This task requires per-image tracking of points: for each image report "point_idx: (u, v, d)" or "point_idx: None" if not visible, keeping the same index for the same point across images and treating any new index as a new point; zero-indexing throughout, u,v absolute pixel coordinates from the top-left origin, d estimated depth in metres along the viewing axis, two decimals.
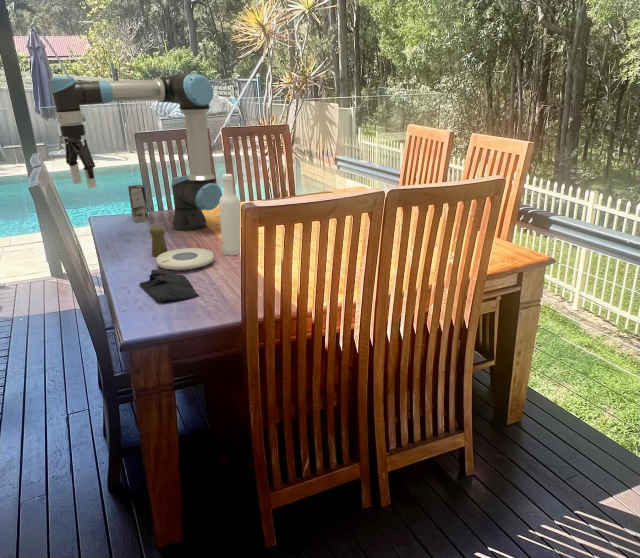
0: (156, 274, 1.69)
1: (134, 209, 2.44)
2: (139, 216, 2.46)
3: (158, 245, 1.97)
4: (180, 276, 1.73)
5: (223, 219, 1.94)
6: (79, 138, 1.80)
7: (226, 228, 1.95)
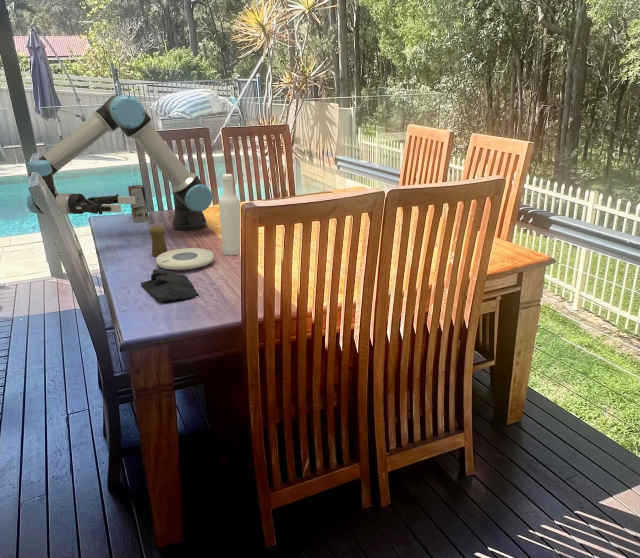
0: (157, 274, 1.69)
1: (134, 209, 2.44)
2: (139, 216, 2.46)
3: (158, 245, 1.97)
4: (181, 276, 1.73)
5: (223, 219, 1.94)
6: None
7: (226, 228, 1.95)
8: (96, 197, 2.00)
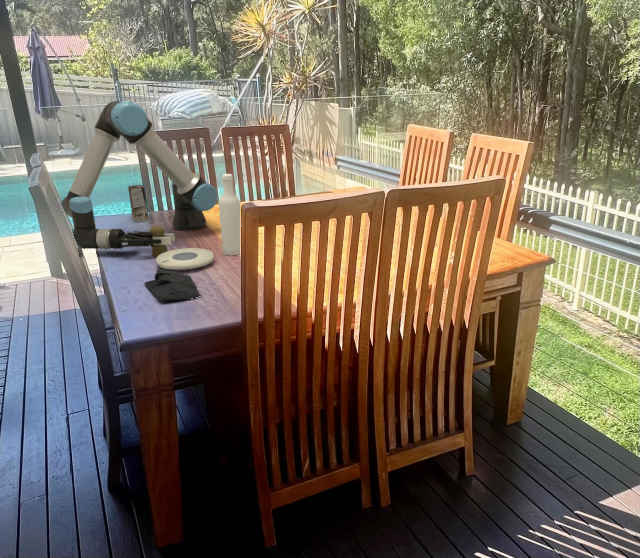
0: (161, 274, 1.70)
1: (134, 209, 2.44)
2: (139, 216, 2.46)
3: (158, 245, 1.97)
4: (185, 276, 1.73)
5: (223, 219, 1.94)
6: (119, 241, 1.95)
7: (226, 228, 1.95)
8: (137, 232, 2.03)
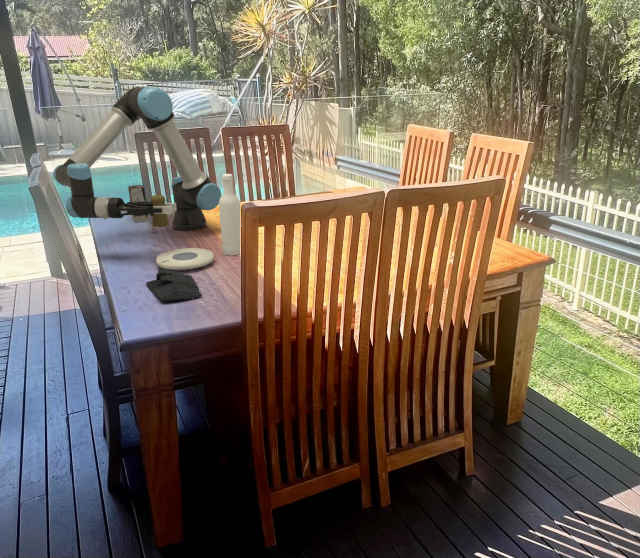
0: (162, 274, 1.70)
1: None
2: (139, 216, 2.46)
3: (159, 214, 1.88)
4: (186, 276, 1.73)
5: (223, 219, 1.94)
6: (118, 209, 1.87)
7: (226, 228, 1.95)
8: (137, 201, 1.94)
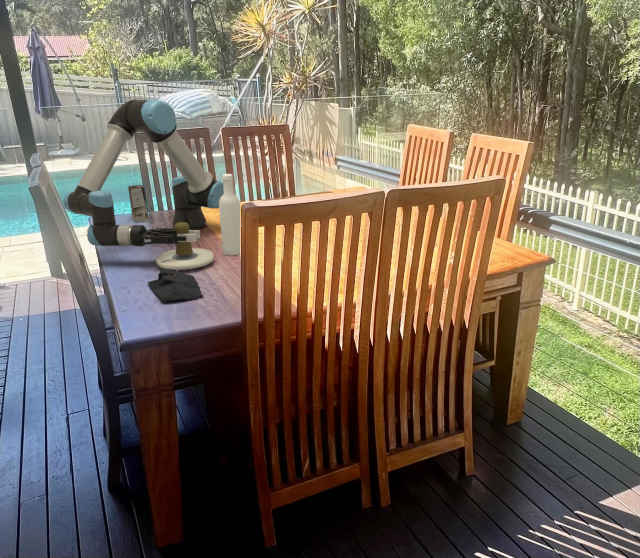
0: (164, 273, 1.70)
1: (134, 209, 2.44)
2: (139, 216, 2.46)
3: (183, 242, 1.84)
4: (188, 276, 1.73)
5: (223, 219, 1.94)
6: (141, 237, 1.83)
7: (226, 228, 1.95)
8: (159, 228, 1.91)
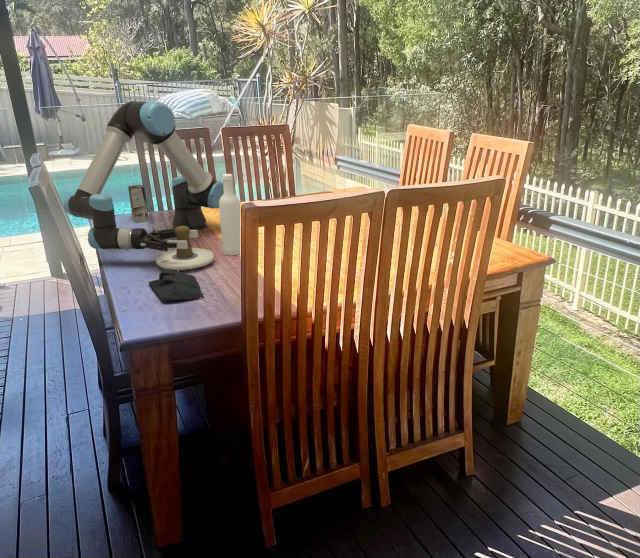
0: (165, 273, 1.70)
1: (134, 209, 2.44)
2: (139, 216, 2.46)
3: None
4: (189, 276, 1.73)
5: (223, 219, 1.94)
6: None
7: (226, 228, 1.95)
8: (157, 231, 1.92)
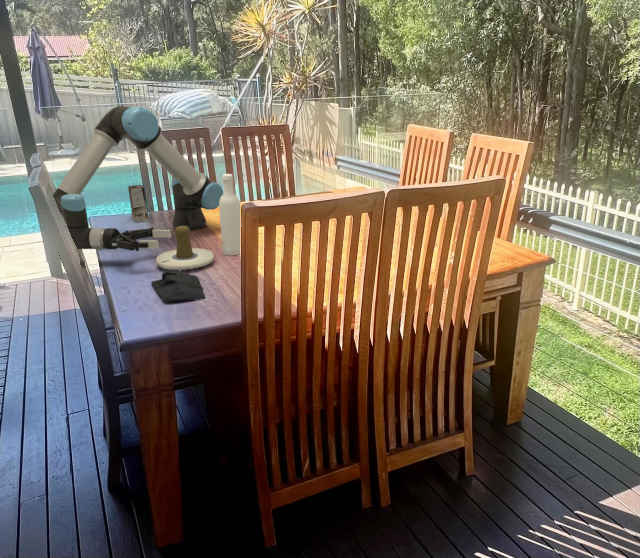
0: (167, 273, 1.70)
1: (134, 209, 2.44)
2: (139, 216, 2.46)
3: (183, 246, 1.85)
4: (192, 276, 1.73)
5: (223, 219, 1.94)
6: None
7: (226, 228, 1.95)
8: (130, 231, 1.92)
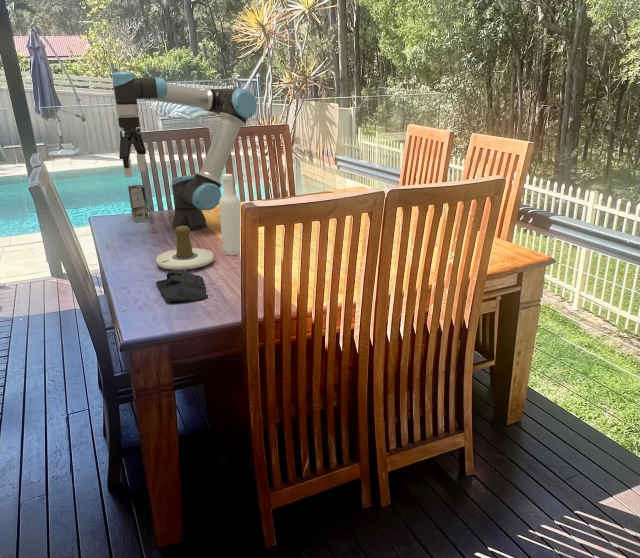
0: (172, 273, 1.70)
1: (134, 209, 2.44)
2: (139, 216, 2.46)
3: (183, 246, 1.85)
4: (196, 277, 1.72)
5: (223, 219, 1.94)
6: (126, 130, 1.93)
7: (226, 228, 1.95)
8: (139, 133, 2.03)
